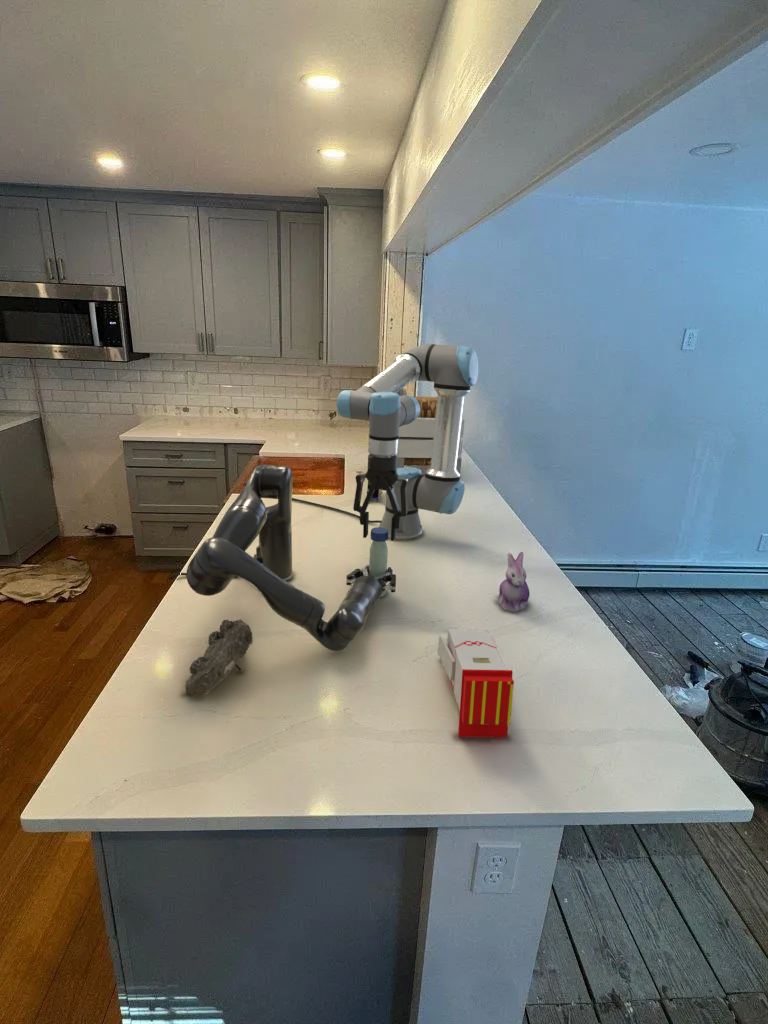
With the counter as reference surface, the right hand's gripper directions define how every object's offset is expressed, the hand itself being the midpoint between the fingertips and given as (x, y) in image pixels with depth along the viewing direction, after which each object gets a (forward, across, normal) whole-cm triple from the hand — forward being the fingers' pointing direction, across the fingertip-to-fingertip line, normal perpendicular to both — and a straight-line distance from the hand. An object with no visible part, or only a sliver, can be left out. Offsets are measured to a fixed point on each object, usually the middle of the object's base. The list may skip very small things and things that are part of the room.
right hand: (379, 537), depth 152 cm
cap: (-2, 0, 0) cm, 2 cm away
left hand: (+11, 0, -3) cm, 11 cm away
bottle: (+17, 0, 0) cm, 17 cm away
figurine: (+17, -37, -4) cm, 41 cm away
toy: (+17, -28, +37) cm, 50 cm away
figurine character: (+17, +18, -82) cm, 85 cm away
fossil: (+17, +24, +43) cm, 52 cm away
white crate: (+17, +6, -125) cm, 127 cm away
